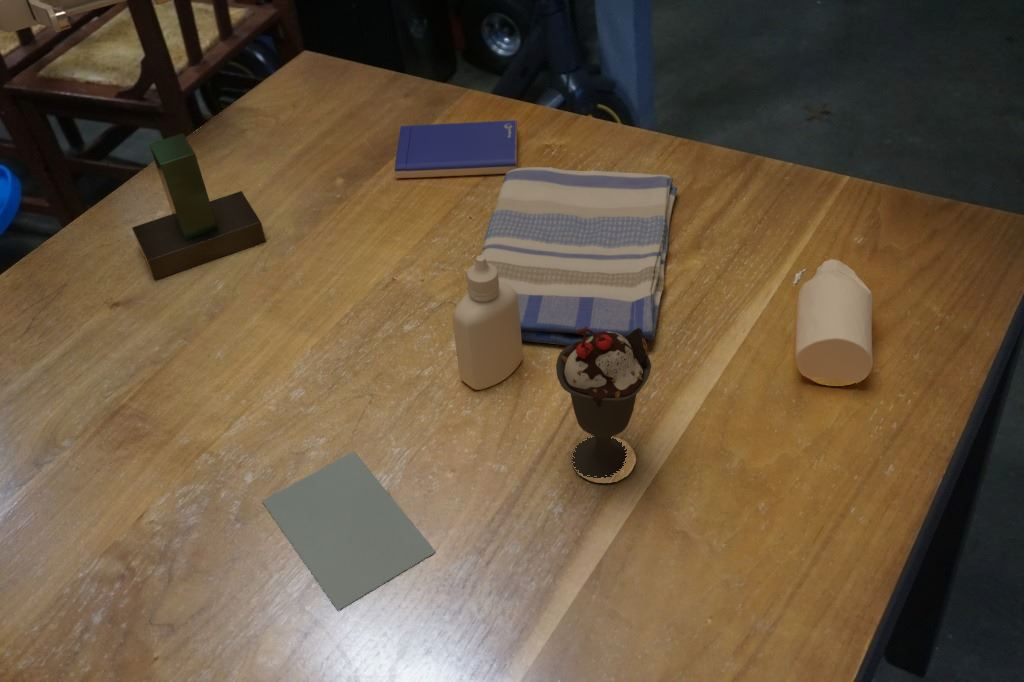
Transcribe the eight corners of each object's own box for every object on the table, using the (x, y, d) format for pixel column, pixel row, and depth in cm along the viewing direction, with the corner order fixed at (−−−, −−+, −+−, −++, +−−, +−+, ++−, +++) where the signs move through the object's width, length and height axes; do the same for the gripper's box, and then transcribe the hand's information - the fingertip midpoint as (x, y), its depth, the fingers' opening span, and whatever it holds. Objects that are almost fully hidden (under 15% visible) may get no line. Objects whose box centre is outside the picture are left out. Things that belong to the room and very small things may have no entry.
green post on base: (154, 280, 103) (119, 184, 95) (139, 246, 107) (103, 151, 99) (266, 241, 106) (240, 145, 99) (246, 210, 110) (220, 115, 103)
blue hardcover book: (516, 118, 117) (400, 123, 118) (516, 161, 111) (394, 167, 112) (517, 130, 118) (402, 136, 119) (517, 174, 112) (396, 180, 113)
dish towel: (678, 191, 108) (679, 167, 106) (657, 357, 92) (658, 333, 90) (505, 181, 111) (503, 158, 109) (455, 340, 95) (452, 316, 93)
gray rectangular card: (261, 501, 83) (261, 500, 83) (354, 451, 86) (354, 451, 86) (337, 611, 76) (337, 610, 76) (435, 552, 79) (435, 551, 79)
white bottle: (866, 293, 96) (876, 243, 92) (867, 391, 88) (879, 340, 84) (795, 287, 97) (803, 236, 93) (790, 383, 89) (798, 332, 85)
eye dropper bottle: (453, 359, 93) (439, 248, 85) (518, 345, 94) (509, 234, 86) (464, 395, 90) (450, 283, 82) (531, 380, 91) (523, 268, 82)
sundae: (550, 486, 82) (543, 341, 72) (571, 421, 87) (566, 276, 77) (637, 502, 81) (642, 355, 71) (654, 435, 86) (660, 288, 75)
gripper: (-39, -49, 105) (-17, 7, 96) (169, -100, 111) (209, -52, 102) (-14, 13, 110) (10, 72, 100) (186, -40, 116) (225, 11, 107)
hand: (112, 9), depth 101 cm, fingers open, 8 cm apart
